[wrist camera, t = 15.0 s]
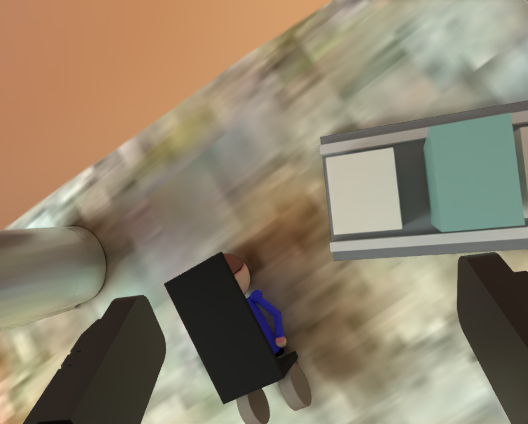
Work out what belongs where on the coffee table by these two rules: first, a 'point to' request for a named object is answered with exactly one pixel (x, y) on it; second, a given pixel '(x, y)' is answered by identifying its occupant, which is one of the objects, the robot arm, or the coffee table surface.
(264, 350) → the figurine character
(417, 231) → the rail board
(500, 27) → the coffee table surface
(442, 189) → the block
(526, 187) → the mounted blocks
